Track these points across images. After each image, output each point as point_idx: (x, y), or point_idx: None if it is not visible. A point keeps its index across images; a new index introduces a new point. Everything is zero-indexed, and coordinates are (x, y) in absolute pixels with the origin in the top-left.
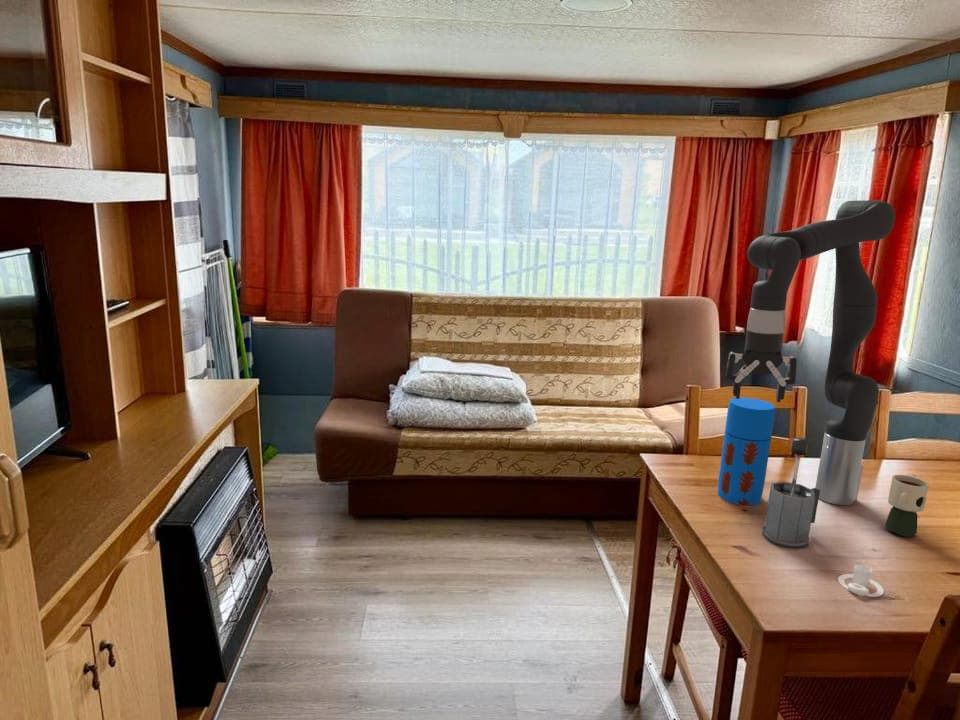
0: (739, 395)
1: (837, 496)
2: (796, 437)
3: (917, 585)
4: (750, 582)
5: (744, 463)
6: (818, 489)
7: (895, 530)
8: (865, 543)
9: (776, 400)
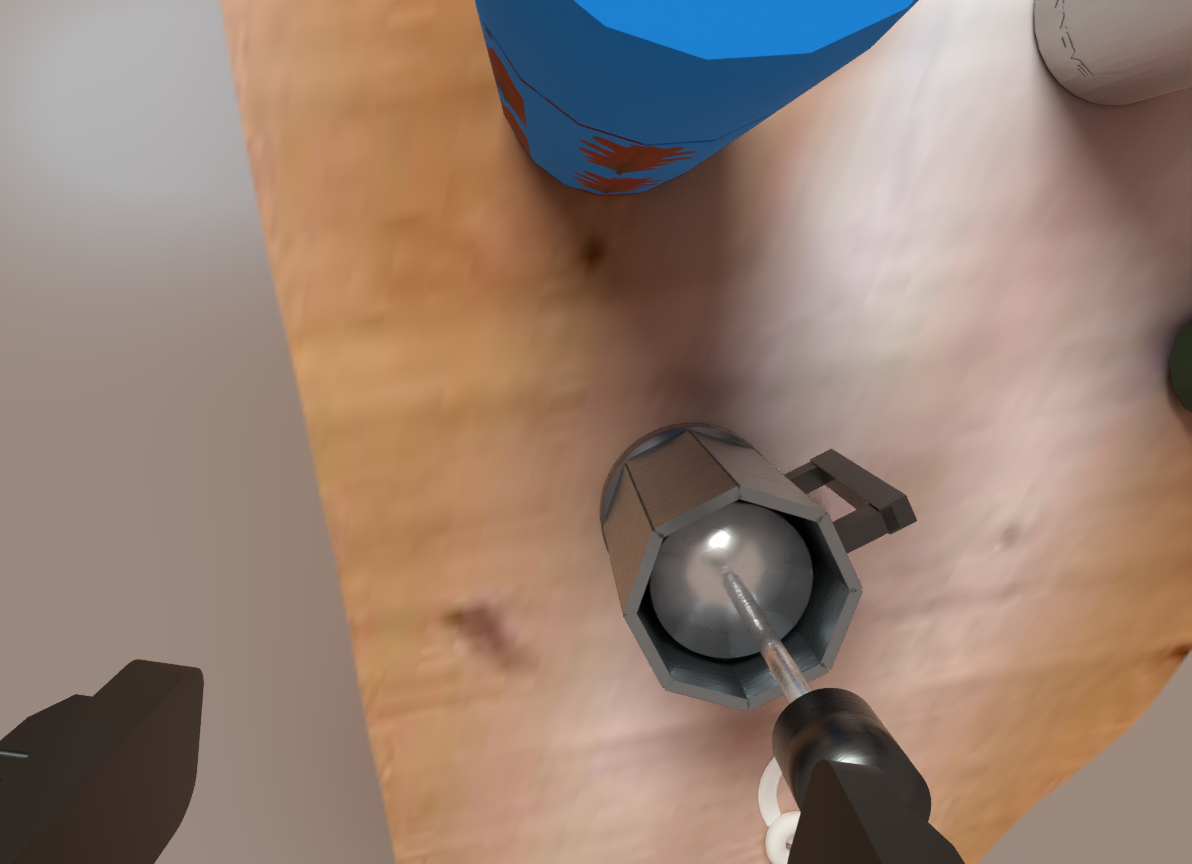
0: (151, 857)
1: (1119, 92)
2: (855, 762)
3: (1016, 753)
4: (452, 847)
5: (595, 164)
6: (912, 514)
7: (1189, 402)
8: (1006, 488)
9: (800, 834)
